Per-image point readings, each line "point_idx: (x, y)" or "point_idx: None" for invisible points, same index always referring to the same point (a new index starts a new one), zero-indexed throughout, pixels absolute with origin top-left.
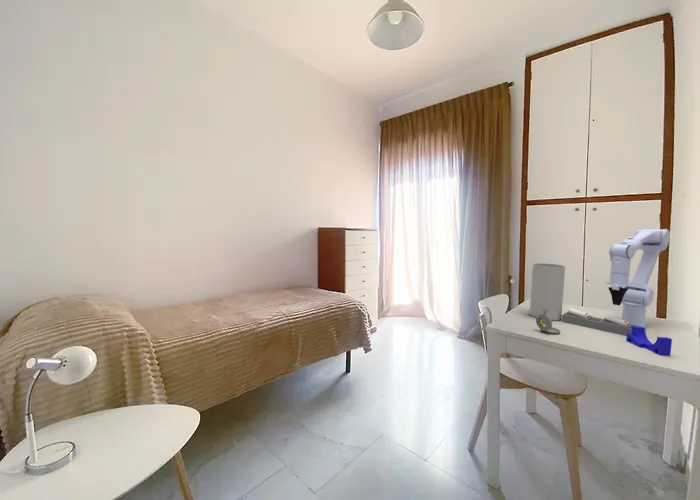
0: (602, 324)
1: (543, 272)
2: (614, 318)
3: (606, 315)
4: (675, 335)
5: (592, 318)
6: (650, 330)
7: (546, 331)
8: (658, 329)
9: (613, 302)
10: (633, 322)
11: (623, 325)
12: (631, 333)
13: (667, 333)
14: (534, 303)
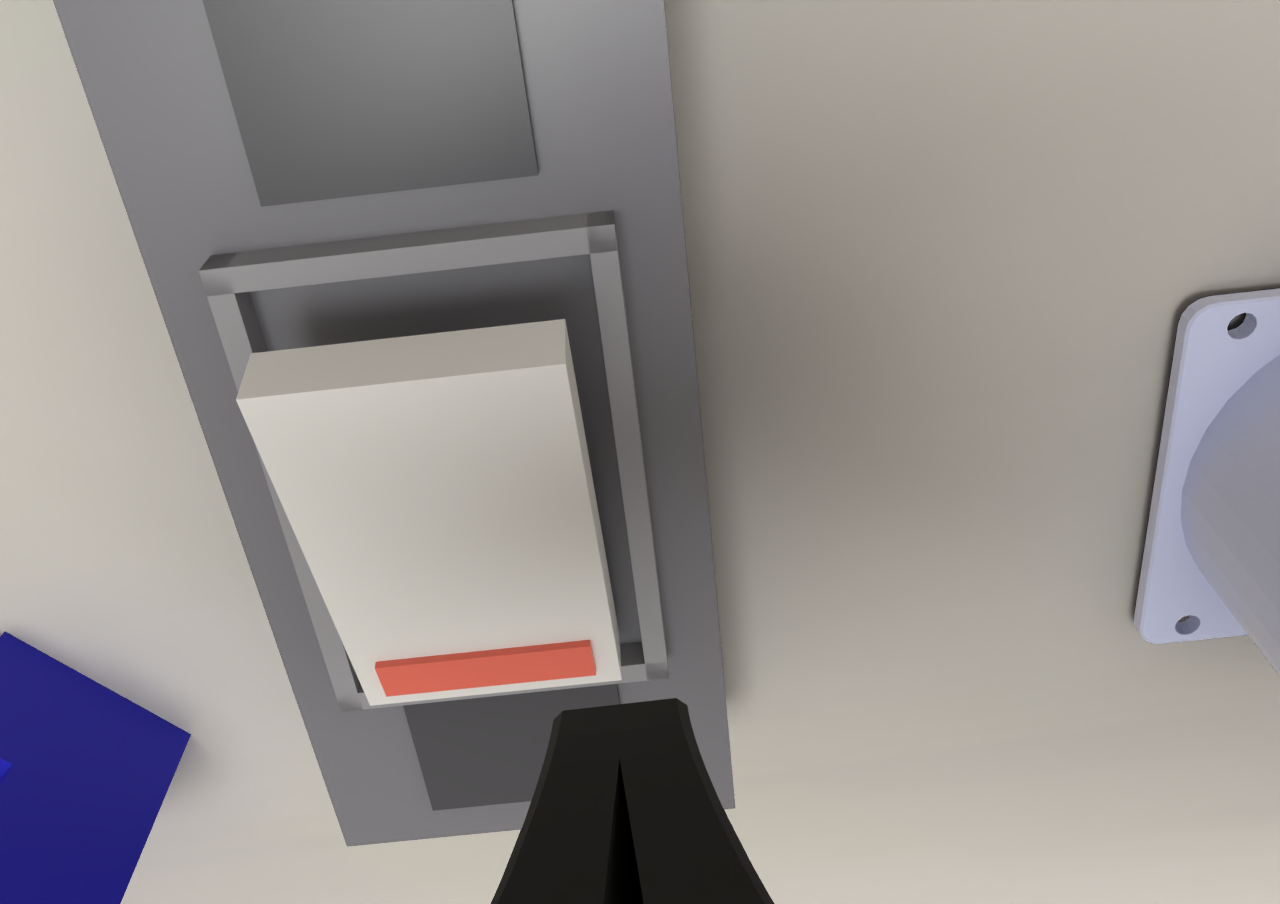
0: (166, 295)
1: None
2: (421, 526)
3: (407, 387)
4: (1059, 890)
5: (364, 3)
6: (1087, 692)
7: None
8: (1268, 737)
9: (550, 780)
10: (1203, 545)
11: (320, 637)
12: (10, 769)
13: (1094, 830)
14: None
